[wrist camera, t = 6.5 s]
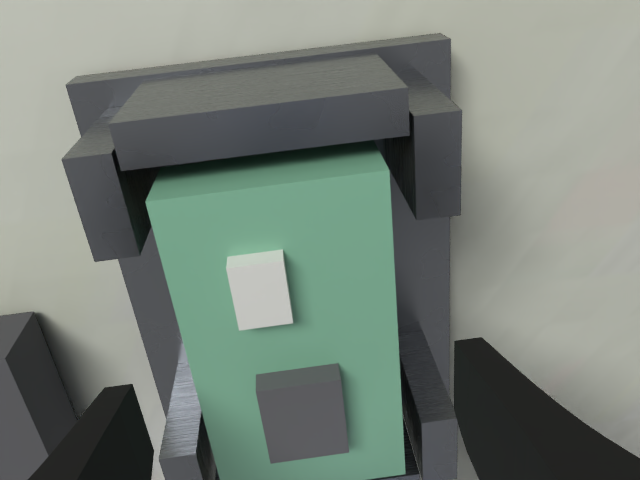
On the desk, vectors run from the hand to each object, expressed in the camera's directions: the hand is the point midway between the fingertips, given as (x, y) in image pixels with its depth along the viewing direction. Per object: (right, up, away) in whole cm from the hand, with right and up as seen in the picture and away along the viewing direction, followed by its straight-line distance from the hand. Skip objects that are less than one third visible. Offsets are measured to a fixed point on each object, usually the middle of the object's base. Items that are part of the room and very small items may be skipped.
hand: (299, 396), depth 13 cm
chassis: (-1, +3, +6) cm, 7 cm away
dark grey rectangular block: (-10, -2, +7) cm, 13 cm away
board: (0, +2, +3) cm, 3 cm away
